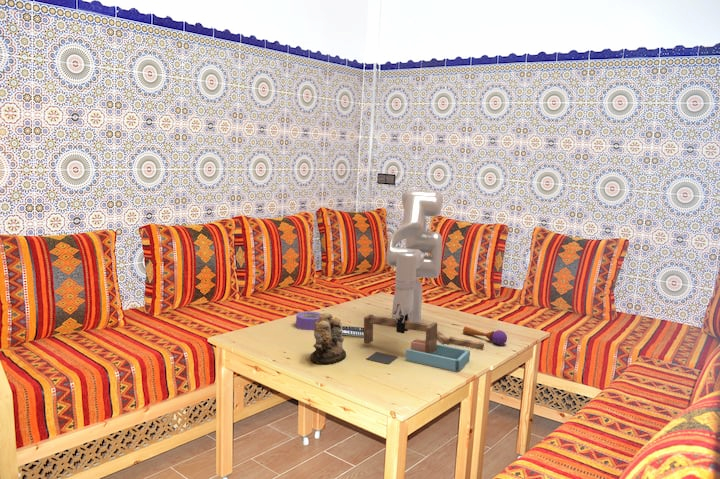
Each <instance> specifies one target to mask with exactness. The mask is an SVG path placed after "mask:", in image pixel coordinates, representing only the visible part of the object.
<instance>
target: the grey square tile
mask: <svg viewBox="0 0 720 479" xmlns="http://www.w3.org/2000/svg"><path fill="white" fill-rule="evenodd" d="M398 358H399V356H398V355H393V354H389V353H383V352H379V351H376V352H374V353H372V354H371V355H369V356H368V357H366V358H365V360H367V361H371V362H377V363H380V364H384V365H390V364H391V363H392V362H394V361H395V360H397V359H398Z"/></svg>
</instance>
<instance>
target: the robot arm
mask: <svg viewBox="0 0 720 479" xmlns="http://www.w3.org/2000/svg"><path fill="white" fill-rule="evenodd" d="M443 200H444V199H443V196H442V194H441V193H440V192H439V191H429V190H427V191H426V190H413V189H412V190H406V191H404V192H403V193H402V195H401V203H402V207H403V209H404V210H403V219H402V223H401V224H402V225H401V226H400V227H398V228H397V229H396V230H395V231H394V232H393V233H392V234H391V236H390V238H389V240H388V242H387V249H386V254H385V255H386V257H385V258H386V260H385V261H386V263H387V265H388V266H390V267H394V268H395V281H394V283H395V284H394V293H393V295H394V296H393V302H392V311H391V319H397V328H395V329H396V333H399V334H405V332H408V331H409V329H405V323H404V321H412V322H420V323H424V322H423V321H422V320H421V317H422V303H423V301H422V300H423V290H424V288H423V285H422V283H421V281H420V280H419V278H425V279H436V278H439V276H440V273H441V268H442V267H441V266H442V265H441V264H442V256H443V255H442V252H443V237H442V235H441V234H440V233H439V232H437V231H430V230H427V222H428V221H427V217H439V215H440V213H441V210H442V208H443V207H442V206H443V204H444V203H443ZM403 240H405V247H396V246H397V244H398V243H400V242H402V241H403ZM425 253H426V254H429V255H431V256H428V255H424V254H425Z"/></svg>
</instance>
